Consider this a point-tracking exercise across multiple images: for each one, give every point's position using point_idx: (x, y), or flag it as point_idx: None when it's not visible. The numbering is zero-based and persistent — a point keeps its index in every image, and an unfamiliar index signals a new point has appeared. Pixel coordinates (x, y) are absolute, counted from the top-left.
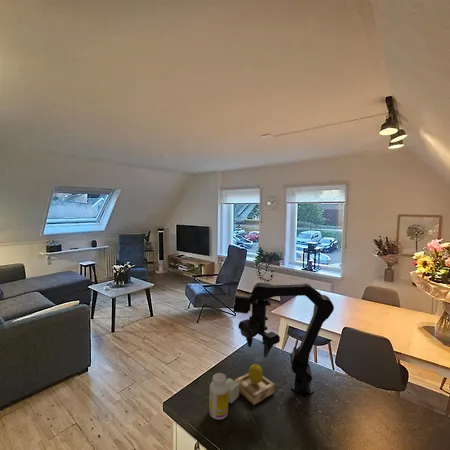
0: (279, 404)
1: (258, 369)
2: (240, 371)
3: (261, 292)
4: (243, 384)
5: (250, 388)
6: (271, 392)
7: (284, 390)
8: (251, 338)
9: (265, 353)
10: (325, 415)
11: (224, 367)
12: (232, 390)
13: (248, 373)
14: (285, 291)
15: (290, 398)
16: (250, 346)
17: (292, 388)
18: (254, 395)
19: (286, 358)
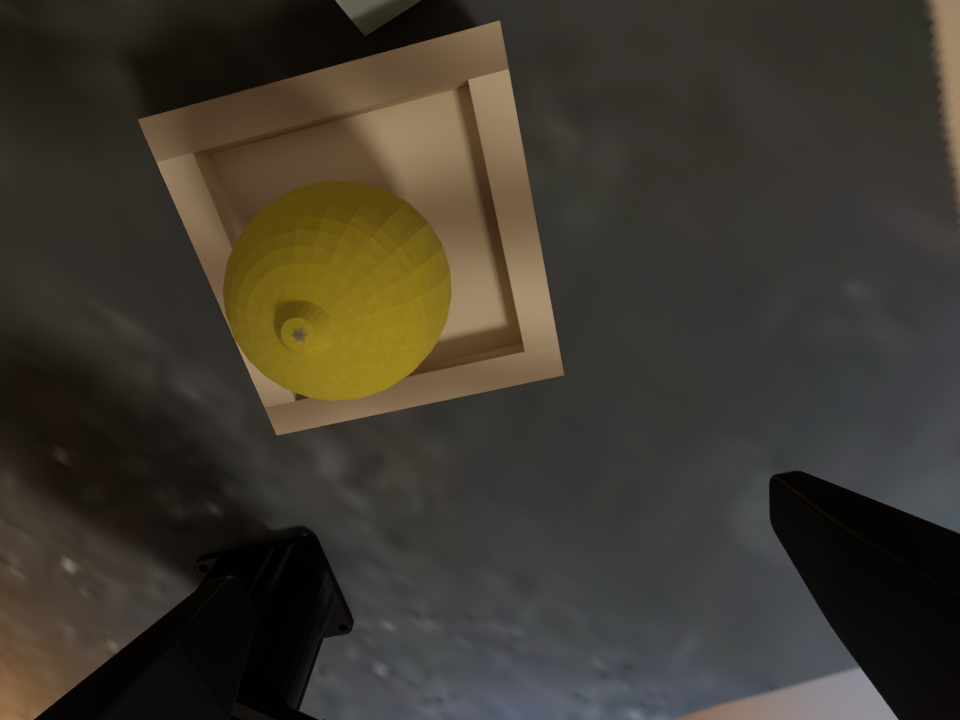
0: (171, 358)
1: (233, 325)
2: (708, 260)
3: None
4: (367, 92)
5: (325, 171)
6: None
7: (313, 482)
8: None
9: (78, 684)
10: (27, 570)
11: (879, 109)
12: None
13: (538, 270)
14: None
15: (218, 471)
16: (774, 519)
17: (296, 543)
18: (143, 125)
19: (646, 694)
